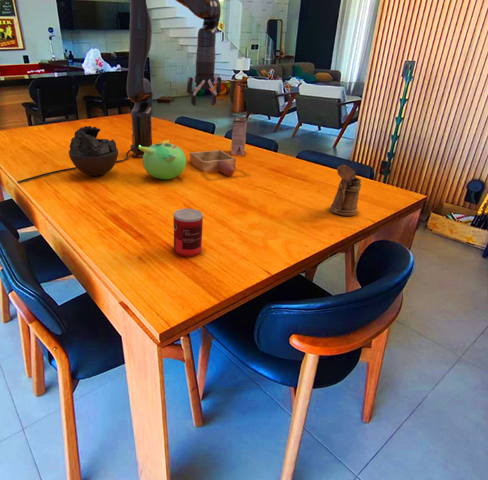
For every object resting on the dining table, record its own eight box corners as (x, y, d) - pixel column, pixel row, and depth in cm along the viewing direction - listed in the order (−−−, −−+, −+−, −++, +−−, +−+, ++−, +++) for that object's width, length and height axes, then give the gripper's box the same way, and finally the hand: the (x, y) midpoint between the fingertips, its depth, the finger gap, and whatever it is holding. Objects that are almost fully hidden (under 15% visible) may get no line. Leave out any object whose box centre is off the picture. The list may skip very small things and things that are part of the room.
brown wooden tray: (202, 173, 167) (203, 162, 164) (189, 162, 180) (189, 152, 177) (235, 169, 172) (236, 159, 169) (220, 160, 184) (220, 150, 182)
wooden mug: (319, 215, 129) (331, 160, 119) (336, 204, 138) (348, 152, 127) (345, 222, 125) (359, 166, 114) (360, 210, 133) (375, 157, 123)
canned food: (184, 242, 112) (184, 206, 106) (207, 249, 109) (208, 212, 102) (168, 252, 107) (167, 214, 101) (191, 260, 103) (192, 222, 97)
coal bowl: (102, 165, 175) (97, 120, 165) (129, 175, 164) (125, 127, 153) (63, 174, 164) (55, 127, 153) (89, 185, 152) (82, 135, 141)
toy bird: (191, 174, 165) (191, 138, 156) (177, 187, 152) (177, 148, 143) (152, 170, 169) (151, 135, 161) (136, 182, 156) (133, 144, 148)
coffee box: (232, 151, 198) (234, 117, 189) (244, 151, 197) (247, 117, 188) (230, 155, 191) (232, 120, 182) (243, 156, 190) (246, 121, 181)
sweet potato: (235, 177, 161) (237, 166, 159) (225, 177, 160) (227, 166, 157) (224, 170, 170) (226, 159, 167) (214, 170, 168) (216, 159, 166)
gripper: (218, 59, 157) (215, 103, 166) (185, 59, 153) (184, 104, 162) (225, 61, 151) (222, 106, 160) (192, 60, 147) (190, 107, 156)
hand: (203, 105), depth 161 cm, fingers open, 8 cm apart
